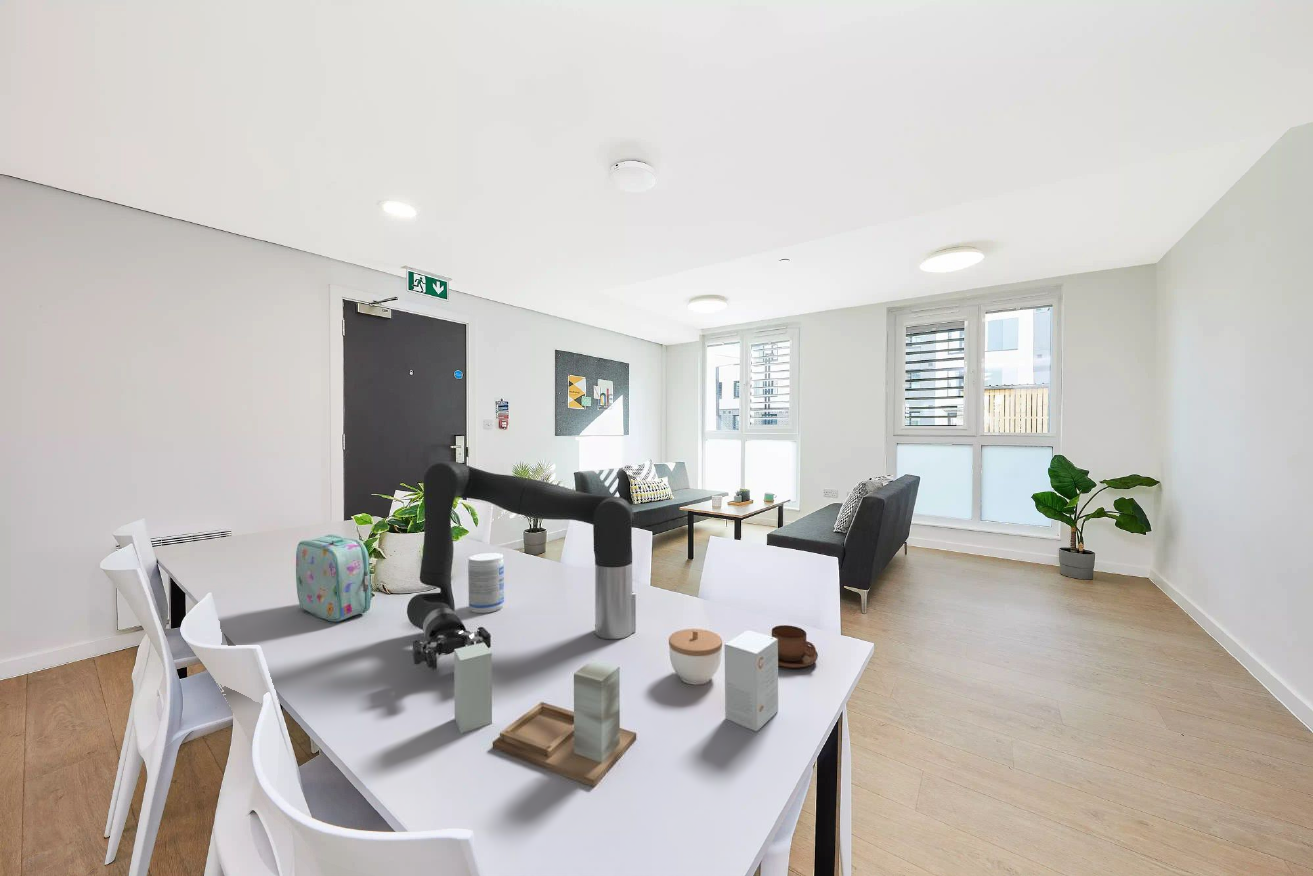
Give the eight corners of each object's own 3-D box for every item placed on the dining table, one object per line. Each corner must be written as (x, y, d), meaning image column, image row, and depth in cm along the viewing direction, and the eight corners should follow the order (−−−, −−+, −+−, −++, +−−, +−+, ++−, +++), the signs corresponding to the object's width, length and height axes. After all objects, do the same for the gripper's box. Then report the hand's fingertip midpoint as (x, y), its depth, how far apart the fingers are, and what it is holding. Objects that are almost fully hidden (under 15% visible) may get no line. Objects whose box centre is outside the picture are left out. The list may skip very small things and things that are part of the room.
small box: (747, 699, 90) (747, 628, 90) (779, 711, 86) (779, 638, 86) (723, 718, 84) (723, 643, 84) (756, 733, 80) (756, 653, 80)
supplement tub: (508, 610, 137) (508, 557, 137) (473, 617, 132) (472, 562, 132) (498, 600, 145) (498, 550, 145) (464, 606, 140) (464, 555, 140)
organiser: (543, 709, 87) (542, 636, 87) (636, 739, 79) (636, 658, 78) (492, 748, 76) (492, 665, 76) (594, 787, 68) (593, 693, 68)
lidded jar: (726, 669, 102) (726, 624, 102) (715, 695, 92) (715, 645, 92) (677, 661, 106) (677, 618, 106) (661, 685, 95) (661, 637, 95)
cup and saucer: (821, 654, 109) (821, 626, 109) (814, 678, 99) (814, 647, 99) (767, 644, 115) (767, 618, 114) (754, 666, 104) (754, 637, 104)
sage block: (484, 709, 87) (484, 642, 87) (491, 723, 83) (491, 652, 83) (454, 718, 85) (454, 649, 84) (460, 733, 80) (460, 660, 80)
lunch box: (379, 616, 133) (378, 537, 133) (338, 628, 124) (337, 544, 124) (331, 598, 147) (330, 527, 147) (291, 609, 138) (290, 533, 138)
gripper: (407, 619, 103) (417, 647, 89) (477, 606, 110) (497, 630, 97) (407, 655, 103) (418, 688, 89) (477, 639, 110) (497, 668, 97)
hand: (459, 658), depth 93 cm, fingers open, 8 cm apart
